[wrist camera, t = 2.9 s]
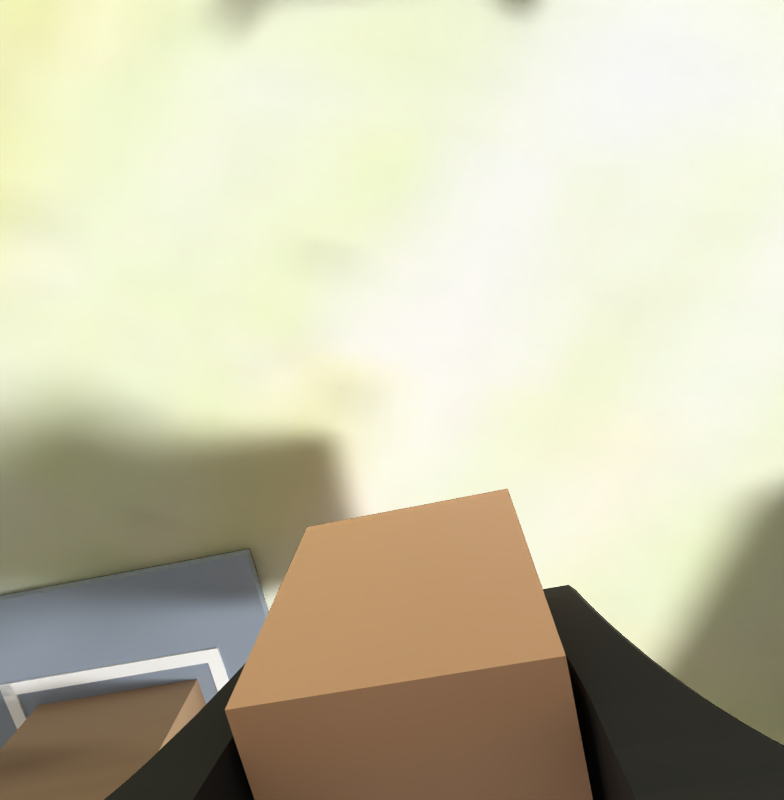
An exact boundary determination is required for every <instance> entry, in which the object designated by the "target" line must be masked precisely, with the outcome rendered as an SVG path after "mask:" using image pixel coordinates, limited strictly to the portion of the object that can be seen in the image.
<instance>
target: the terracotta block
mask: <svg viewBox="0 0 784 800" xmlns="http://www.w3.org/2000/svg"><path fill="white" fill-rule="evenodd" d="M225 713H226V716H227V719H228V722H229V725H230V728H231V731H232V734H233V737H234V740H235V743H236V746H237V749H238V752H239V755H240V758H241V761H242V764H243V767H244V770H245V773H246V776H247V779H248V782H249V785H250V788H251V791H252V794H253V797H254V800H593V797H592V792H591V787H590V781H589V776H588V771H587V765H586V760H585V755H584V750H583V744H582V739H581V734H580V728H579V723H578V718H577V712H576V707H575V702H574V696H573V691H572V686H571V680H570V675H569V670H568V665H567V659H566V655H565V652H564V649H563V646H562V643H561V640H560V638H559V635H558V632H557V629H556V626H555V623H554V620H553V617H552V615H551V612H550V609H549V606H548V603H547V600H546V597H545V595H544V592H543V589H542V586H541V583H540V580H539V577H538V574H537V572H536V569H535V566H534V563H533V560H532V557H531V554H530V552H529V549H528V546H527V543H526V540H525V537H524V534H523V531H522V529H521V526H520V523H519V520H518V517H517V514H516V511H515V508H514V506H513V503H512V500H511V497H510V494H509V491H508V489H504V490H498V491H493V492H488V493H483V494H477V495H472V496H467V497H462V498H456V499H451V500H446V501H441V502H435V503H430V504H425V505H420V506H414V507H409V508H404V509H399V510H393V511H388V512H383V513H378V514H372V515H367V516H362V517H357V518H351V519H346V520H341V521H336V522H330V523H325V524H320V525H315V526H309V527H307V528H306V531H305V533H304V535H303V537H302V540H301V542H300V544H299V546H298V548H297V551H296V553H295V555H294V557H293V559H292V562H291V564H290V566H289V568H288V571H287V573H286V575H285V577H284V579H283V582H282V584H281V586H280V588H279V591H278V593H277V595H276V597H275V599H274V602H273V604H272V606H271V608H270V611H269V613H268V615H267V617H266V619H265V622H264V624H263V626H262V628H261V630H260V633H259V635H258V637H257V639H256V642H255V644H254V646H253V648H252V650H251V653H250V655H249V657H248V659H247V662H246V664H245V666H244V668H243V670H242V673H241V675H240V677H239V679H238V682H237V684H236V686H235V688H234V690H233V693H232V695H231V697H230V699H229V702H228V704H227V706H226V708H225Z"/></svg>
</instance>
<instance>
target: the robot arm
mask: <svg viewBox="0 0 784 800" xmlns="http://www.w3.org/2000/svg"><path fill="white" fill-rule="evenodd" d="M543 592H544V595H545V597H546V600H547V603H548V606H549V609H550V612H551V615H552V617H553V620H554V623H555V626H556V629H557V632H558V635H559V638H560V640H561V643H562V646H563V649H564V652H565V655H566V659H567V665H568V670H569V675H570V680H571V686H572V691H573V696H574V702H575V707H576V712H577V718H578V723H579V728H580V734H581V739H582V744H583V750H584V755H585V760H586V765H587V771H588V776H589V781H590V787H591V792H592V797H593V800H784V745H782V744H780V743H778V742H776V741H774V740H772V739H771V738H769V737H767V736H765V735H763V734H762V733H760V732H758V731H756V730H755V729H753V728H751V727H749V726H748V725H746V724H744V723H743V722H741V721H739V720H738V719H736V718H735V717H733V716H731V715H730V714H728V713H727V712H725V711H723V710H722V709H720V708H719V707H717V706H715V705H714V704H712V703H711V702H709V701H708V700H706V699H705V698H703V697H702V696H701V695H699V694H698V693H696V692H695V691H693V690H692V689H690V688H689V687H688V686H686V685H685V684H684V683H682V682H681V681H680V680H678V679H677V678H675V677H674V676H673V675H671V674H670V673H669V672H667V671H666V670H665V669H663V668H662V667H661V666H660V665H658V664H657V663H656V662H654V661H653V660H652V659H651V658H649V657H648V656H647V655H646V654H644V653H643V652H642V651H641V650H640V649H638V648H637V647H636V646H635V645H634V644H633V643H631V642H630V641H629V640H628V639H627V638H625V637H624V636H623V635H622V634H621V633H620V632H618V631H617V630H616V629H615V628H614V627H613V626H612V625H611V624H610V623H608V622H607V621H606V620H605V619H604V618H603V617H602V616H601V615H600V614H599V613H598V612H597V611H596V610H595V609H594V608H593V607H592V606H591V605H590V604H589V603H588V602H587V601H586V600H585V599H584V598H583V597H582V596H581V595H580V594H579V593H578V592H577V591H576V590H575V589H574V588H572V587H571V586H569V585H566V586H560V587H554V588H548V589H543ZM245 664H246V663H245ZM245 664H244V665H243V666H242V667H241V668H240V669H239V670H238V671H237V672H236V674H235V675H234V676H233V677H232V678H231V679H230V680H229V681H228V682H227V683H226V684H225V685H224V686H223V687H222V688H221V689H220V690H219V691H218V692H217V694H216V695H215V696H214V697H213V698H212V699H211V700H210V701H209V702H208V703H207V704H206V705H205V706H204V707H203V708H202V709H201V710H200V711H199V712H198V713H197V714H196V715H195V716H194V717H193V718H192V719H191V720H190V721H189V722H188V723H187V724H186V725H185V726H184V727H183V728H182V729H181V730H180V731H179V732H178V733H177V734H176V735H175V736H174V737H173V738H172V739H171V740H170V741H169V742H168V743H166V744H165V745H164V746H163V747H162V748H161V749H160V750H159V751H158V752H157V753H156V754H155V755H154V756H153V757H152V758H151V759H150V760H149V761H148V762H147V763H146V764H144V765H143V766H142V767H141V768H140V769H139V770H138V771H137V772H136V773H135V774H133V775H132V776H131V777H130V778H129V779H128V780H127V781H125V782H124V783H123V784H122V785H121V786H120V787H118V788H117V789H116V790H115V791H114V792H112V793H111V794H110V795H109V796H108V797H106V798H105V799H104V800H254V797H253V794H252V791H251V788H250V785H249V782H248V779H247V776H246V773H245V770H244V767H243V764H242V761H241V758H240V755H239V752H238V749H237V746H236V743H235V740H234V737H233V734H232V731H231V728H230V725H229V722H228V719H227V716H226V713H225V708H226V706H227V704H228V702H229V699H230V697H231V695H232V693H233V690H234V688H235V686H236V684H237V682H238V679H239V677H240V675H241V673H242V670H243V668H244V666H245Z"/></svg>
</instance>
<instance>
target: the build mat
mask: <svg viewBox="0 0 784 800" xmlns="http://www.w3.org/2000/svg"><path fill="white" fill-rule="evenodd" d="M268 613H269V611H268V608H267V605H266V602H265V598H264V595H263V592H262V589H261V585H260V582H259V579H258V576H257V572H256V569H255V566H254V563H253V559H252V556H251V553H250V550H249V549H247V550H242V551H236V552H231V553H226V554H220V555H215V556H210V557H204V558H199V559H194V560H188V561H183V562H178V563H172V564H167V565H162V566H156V567H151V568H146V569H140V570H135V571H130V572H124V573H119V574H114V575H108V576H103V577H98V578H92V579H87V580H82V581H76V582H71V583H66V584H60V585H55V586H50V587H44V588H39V589H34V590H29V591H23V592H18V593H13V594H7V595H2V596H0V749H1V748H2V747H3V746H4V745H5V744H6V742H7V741H8V740H9V739H10V738H11V737H12V735H13V734H14V733H15V732H16V731H17V730H18V728H19V727H20V726H21V725H22V724H23V723H24V721H25V720H26V719H27V718H28V717H29V716H30V714H31V713H32V712H33V711H34V710H35V709H36V707H37V706H38V705H43V704H49V703H55V702H61V701H67V700H73V699H79V698H85V697H91V696H97V695H104V694H110V693H116V692H122V691H128V690H134V689H140V688H146V687H152V686H158V685H164V684H170V683H176V682H182V681H188V680H194V679H197V680H198V683H199V685H200V688H201V691H202V694H203V697H204V700H205V703H206V704H207V703H208V702H209V701H210V700H211V699H212V698H213V697H214V696H215V695H216V694H217V692H218V691H219V690H220V689H221V688H222V687H223V686H224V685H225V684H226V683H227V682H228V681H229V680H230V679H231V678H232V677H233V676H234V675H235V674H236V672H237V671H238V670H239V669H240V668H241V667H242V666H243V665H244V664H245V663H246V662H247V659H248V657H249V655H250V653H251V650H252V648H253V646H254V644H255V642H256V639H257V637H258V635H259V633H260V630H261V628H262V626H263V624H264V622H265V619H266V617H267V615H268Z"/></svg>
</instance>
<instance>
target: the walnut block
mask: <svg viewBox="0 0 784 800" xmlns="http://www.w3.org/2000/svg"><path fill="white" fill-rule="evenodd" d="M205 705H206V703H205V700H204V697H203V694H202V691H201V688H200V685H199V683H198V680H197V679H194V680H188V681H182V682H176V683H170V684H164V685H158V686H152V687H146V688H140V689H134V690H128V691H122V692H116V693H110V694H104V695H97V696H91V697H85V698H79V699H73V700H67V701H61V702H55V703H49V704H43V705H38V706H37V707H36V709H35V710H34V711H33V712H32V713H31V714H30V716H29V717H28V718H27V719H26V720H25V721H24V723H23V724H22V725H21V726H20V727H19V728H18V730H17V731H16V732H15V733H14V734H13V735H12V737H11V738H10V739H9V740H8V741H7V742H6V744H5V745H4V746H3V747H2V748H1V749H0V800H104V799H105V798H106V797H108V796H109V795H110V794H111V793H112V792H114V791H115V790H116V789H117V788H118V787H120V786H121V785H122V784H123V783H124V782H125V781H127V780H128V779H129V778H130V777H131V776H132V775H133V774H135V773H136V772H137V771H138V770H139V769H140V768H141V767H142V766H143V765H144V764H146V763H147V762H148V761H149V760H150V759H151V758H152V757H153V756H154V755H155V754H156V753H157V752H158V751H159V750H160V749H161V748H162V747H163V746H164V745H165V744H166V743H168V742H169V741H170V740H171V739H172V738H173V737H174V736H175V735H176V734H177V733H178V732H179V731H180V730H181V729H182V728H183V727H184V726H185V725H186V724H187V723H188V722H189V721H190V720H191V719H192V718H193V717H194V716H195V715H196V714H197V713H198V712H199V711H200V710H201V709H202V708H203V707H204V706H205Z"/></svg>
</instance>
